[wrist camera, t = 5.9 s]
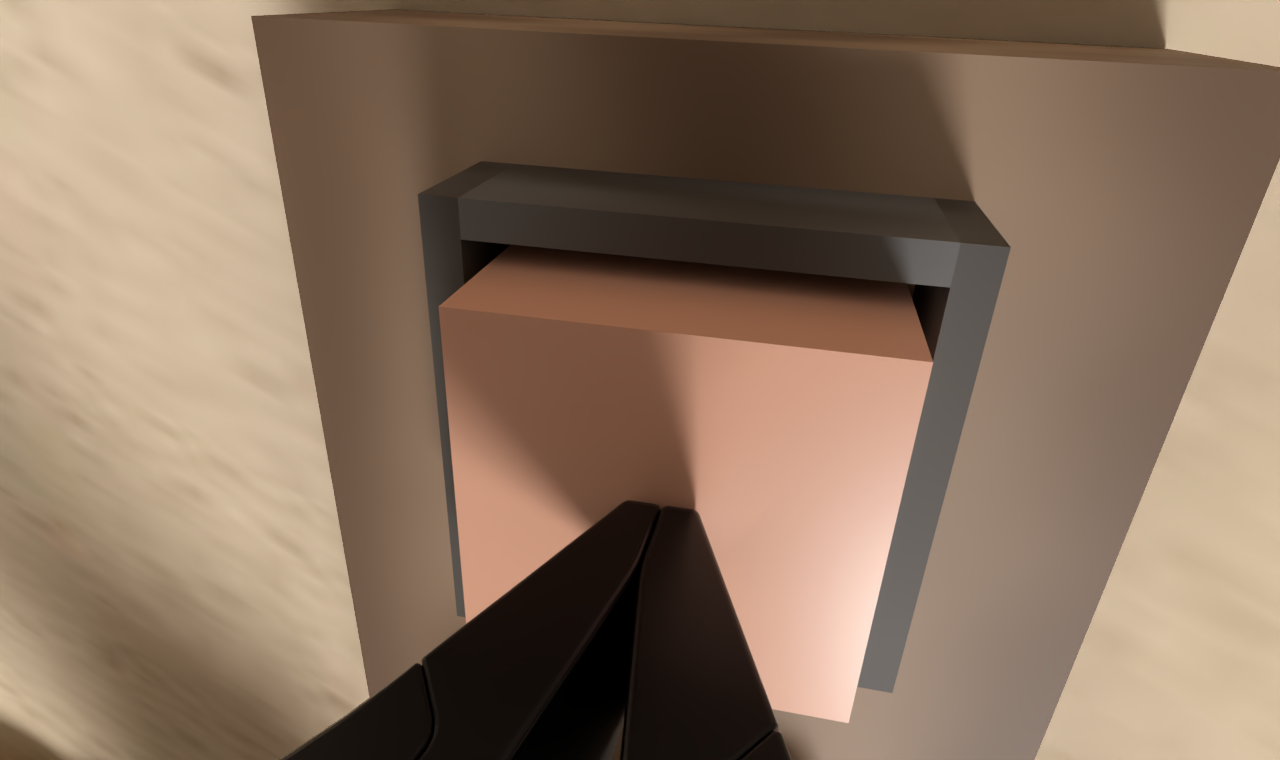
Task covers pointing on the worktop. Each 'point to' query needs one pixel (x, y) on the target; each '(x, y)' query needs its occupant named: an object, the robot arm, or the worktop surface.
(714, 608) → the robot arm
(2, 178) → the worktop surface
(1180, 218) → the console
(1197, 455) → the worktop surface
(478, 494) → the terracotta key
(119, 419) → the worktop surface
